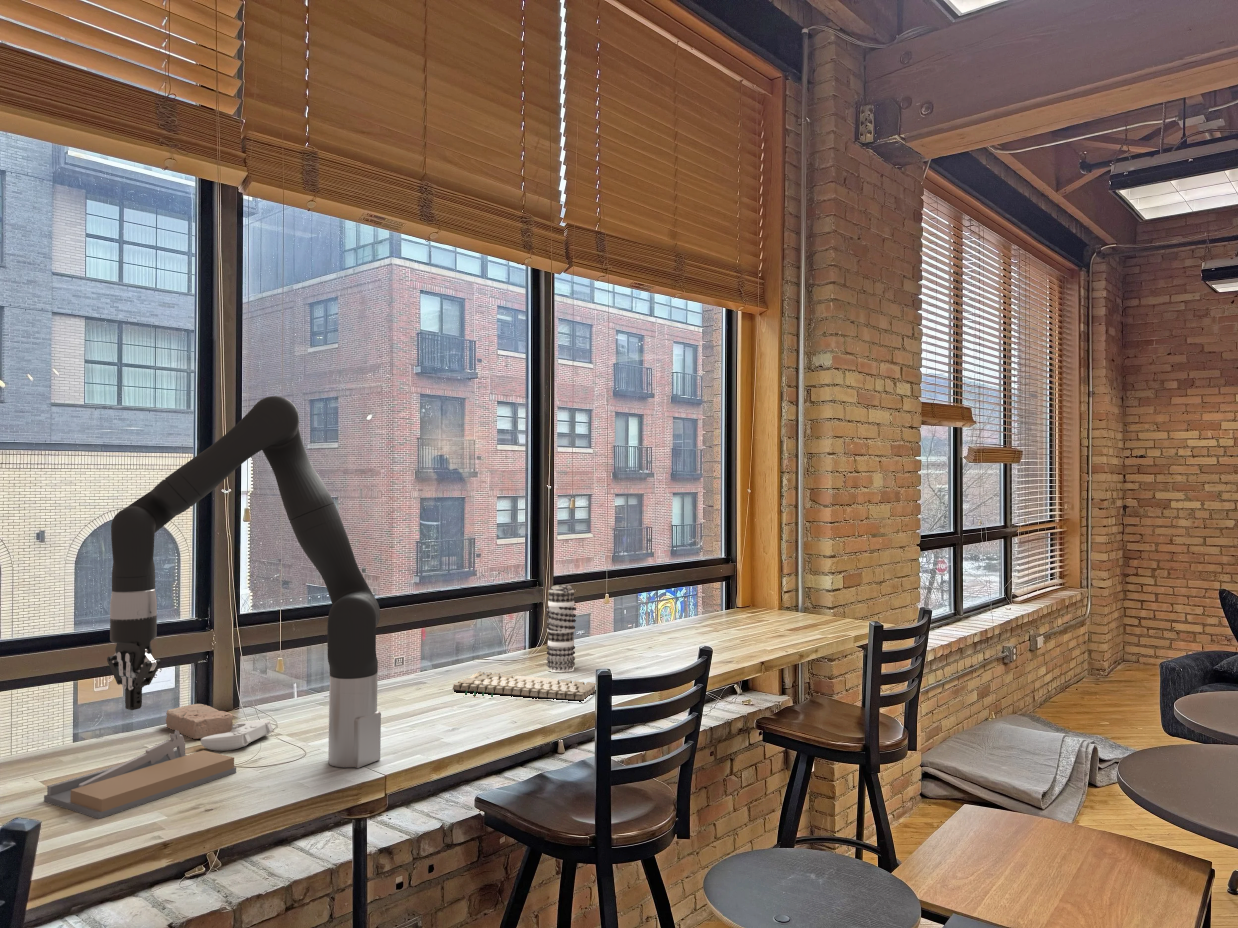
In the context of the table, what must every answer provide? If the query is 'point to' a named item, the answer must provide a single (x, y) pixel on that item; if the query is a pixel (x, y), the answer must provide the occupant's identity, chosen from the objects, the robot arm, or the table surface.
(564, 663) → the decorative candle
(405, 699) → the table surface
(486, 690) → the mechanical keyboard
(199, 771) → the plank board
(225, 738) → the game controller
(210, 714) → the brick
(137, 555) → the robot arm
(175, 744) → the caliper
